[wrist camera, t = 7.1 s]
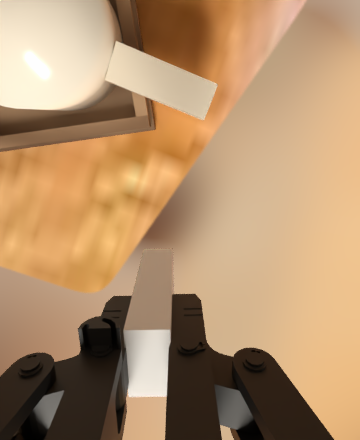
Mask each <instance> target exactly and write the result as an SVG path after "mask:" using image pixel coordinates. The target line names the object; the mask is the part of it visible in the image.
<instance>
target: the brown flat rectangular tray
mask: <svg viewBox="0 0 360 440" xmlns="http://www.w3.org/2000/svg"><path fill="white" fill-rule="evenodd" d="M109 2H110V4H111V6H112V7H113V9H114V11H115V13H116V15H117V17H118V19H119V21H120V26H121V32H122V38H123V44H125V45H127V46H129V47H132V48H134V49H136V50H139V51H141V52H143V53H144V51H143V45H142V38H141V32H140V25H139V19H138V12H137V6H136V0H109ZM150 130H155V123H154V116H153V110H152V103H151V99H149V98H146V97H144V96H141V95H139V94H136V93H134V92H131V91H129V90H127V89H124V88H122V87H119V86H117V85H116V86H115V87H114V89H113V90H112V92H111V93H110V94H109V95H108V96H107V97H106V98H105V99H103V100H102V101H101V102H99V103H98V104H96V105H94V106H92V107H89V108H87V109H83V110H77V111H62V110H39V109H16V108H10V107H4V106H1V105H0V152H2V151H9V150H16V149H23V148H30V147H37V146H44V145H51V144H58V143H65V142H72V141H79V140H86V139H94V138H101V137H108V136H115V135H122V134H129V133H136V132H143V131H150Z"/></svg>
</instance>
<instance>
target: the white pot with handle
mask: <svg viewBox="0 0 360 440" xmlns="http://www.w3.org/2000/svg"><path fill="white" fill-rule="evenodd" d="M116 85H117V86H119V87H122V88H124V89H127V90H129V91H131V92H134V93H136V94H139V95H141V96H144V97H146V98H149V99H151V100H153V101H156V102H158V103H161V104H163V105H166V106H168V107H171V108H173V109H176V110H178V111H180V112H183V113H185V114H188V115H190V116H193V117H195V118H198V119H200V120H204V119H205V116H206V114H207V111H208V109H209V106H210V103H211V101H212V98H213V96H214V93H215V91H216V88H217V85H218V84H216V83H214V82H211V81H209V80H207V79H204V78H202V77H200V76H197V75H195V74H193V73H190V72H188V71H186V70H183V69H181V68H179V67H176V66H174V65H172V64H169V63H167V62H165V61H162V60H160V59H157V58H155V57H153V56H150V55H148V54H146V53H143V52H141V51H139V50H136V49H134V48H132V47H129V46H127V45H125V44H123V38H122V32H121V26H120V21H119V19H118V17H117V15H116V13H115V11H114V9H113V7H112V6H111V4H110V2H109V0H0V105H1V106H4V107H10V108H16V109H39V110H62V111H77V110H83V109H87V108H89V107H92V106H94V105H96V104H98V103H99V102H101V101H102V100H103V99H105V98H106V97H107V96H108V95H109V94H110V93H111V92H112V90H113V89H114V87H115V86H116Z"/></svg>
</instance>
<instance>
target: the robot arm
mask: <svg viewBox="0 0 360 440" xmlns="http://www.w3.org/2000/svg"><path fill="white" fill-rule="evenodd" d="M78 332H79V340H80V347H81V351H80V353H79V355H77V356H75V357H72V358H69V359H66V360H62V361H58V362H54V359H53V358H52V356H51V355H49V354H46V353H33V354H30V355H26V356H25V357H22V358H20V359H19V360H17V361H16V362H15V363H13V364H12V365H11V367H9V368H8V369H7V370H6V371H5V372H4V373H3V374H2V375H1V377H0V440H122V436H123V431H124V425H125V419H126V413H127V409H126V408H127V407H126V396H127V390H128V394H129V397H161V396H162V397H163V396H167V406H166V431H165V432H166V434H165V440H222V437H221V430H220V425H223V426H226V427H229V428H230V430H231V433H232V436H233V438H234V440H334V439H333V438H332V436H331V435H330V433H329V432H328V431H327V429H326V428H325V427H324V425H323V424H322V423H321V421H320V420H319V419H318V417H317V416H316V415H315V413H314V412H313V411H312V409H311V408H310V407H309V405H308V404H307V402H306V401H305V400H304V398H303V397H302V396H301V394H300V393H299V392H298V390H297V389H296V388H295V386H294V385H293V384H292V382H291V381H290V379H289V378H288V377H287V375H286V374H285V373H284V371H283V370H282V369H281V367H280V366H279V365H278V363H277V362H276V361H275V359H274V358H273V357H272V356H271V355H270V354H269V353H267V352H265V351H263V350H260V349H256V348H244V349H241V350H239V351H238V352H237V353H235V354H234V357H231V356H227V355H223V354H220V353H218V352H216V351H214V350H213V349H212V348H211V347H210V346H209V345H208V343H207V341H206V335H205V327H204V320H203V313H202V305H201V300H200V299H199V298H198V297H197V296H196V294H174V281H173V249H172V248H163V249H162V248H161V249H144V250H143V254H142V258H141V262H140V266H139V270H138V274H137V278H136V282H135V286H134V290H133V294H132V296H113V297H112V298H111V299H110V300H109V301H108V302H107V303H106V305H105V307H104V310H103V312H102V315H101V316H99V317H94V318H91V319H89V320H87V321H85V322H84V323H82V324H81V326H80V327H79V328H78Z"/></svg>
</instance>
